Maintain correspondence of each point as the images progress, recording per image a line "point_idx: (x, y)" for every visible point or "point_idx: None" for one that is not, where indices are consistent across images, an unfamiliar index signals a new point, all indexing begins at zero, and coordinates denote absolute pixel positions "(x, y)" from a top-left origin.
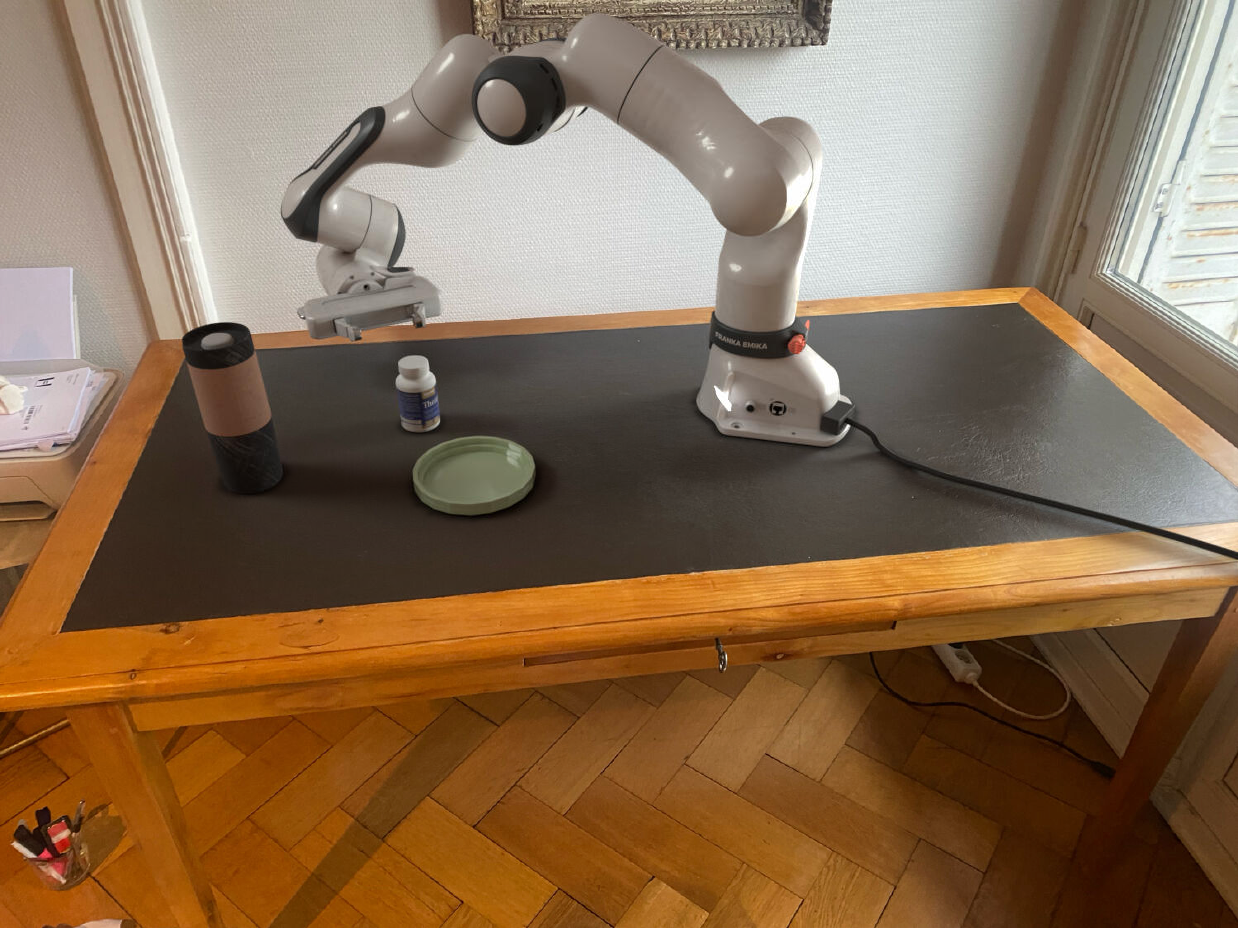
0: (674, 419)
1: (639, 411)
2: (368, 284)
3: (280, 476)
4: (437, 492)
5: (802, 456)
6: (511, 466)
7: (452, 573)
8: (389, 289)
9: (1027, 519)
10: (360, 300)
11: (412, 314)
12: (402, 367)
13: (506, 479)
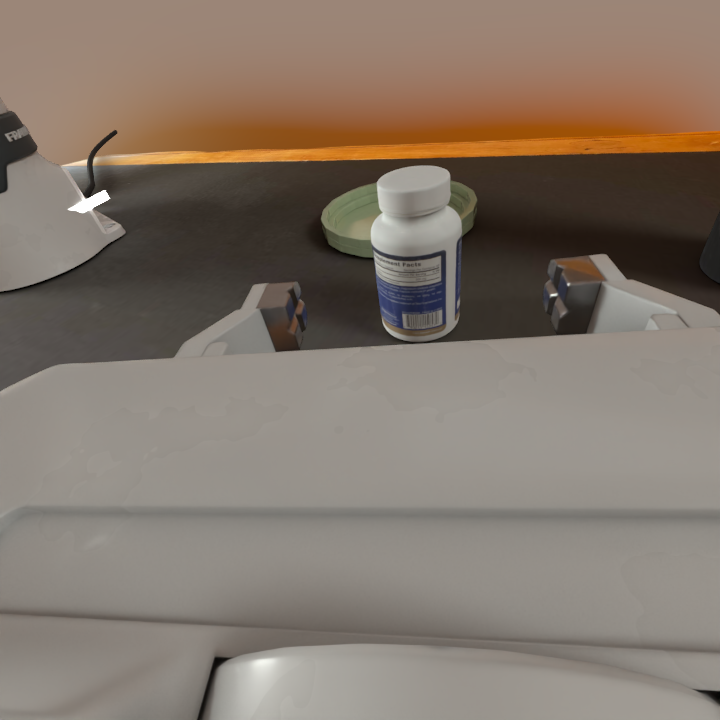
0: (125, 257)
1: (132, 274)
2: (399, 647)
3: (701, 254)
4: None
5: (120, 210)
6: (347, 228)
7: (466, 166)
8: (177, 621)
9: (113, 171)
10: (546, 462)
11: (284, 302)
12: (443, 168)
13: (365, 217)
